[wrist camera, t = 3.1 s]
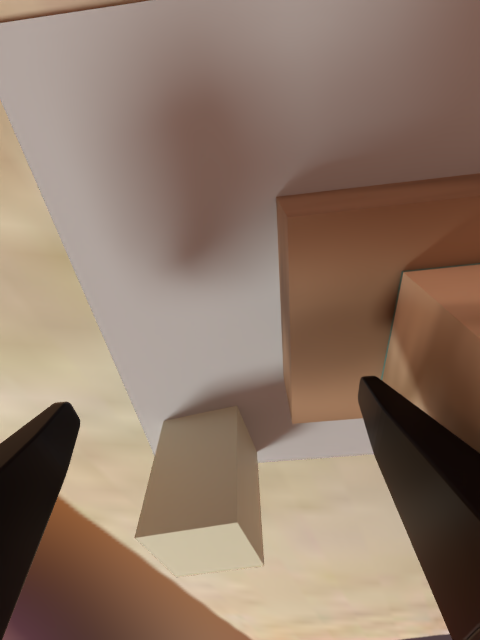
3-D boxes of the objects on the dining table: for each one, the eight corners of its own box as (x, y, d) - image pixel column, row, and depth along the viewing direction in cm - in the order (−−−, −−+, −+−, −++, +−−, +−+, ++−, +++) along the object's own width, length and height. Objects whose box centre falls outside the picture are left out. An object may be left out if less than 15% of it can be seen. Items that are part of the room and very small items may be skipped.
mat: (558, 434, 19) (564, 440, 19) (161, 464, 21) (160, 469, 20) (953, -115, 8) (986, -126, 7) (-21, 31, 9) (-31, 27, 9)
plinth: (454, 356, 16) (502, 407, 13) (282, 371, 16) (292, 423, 13) (521, 166, 11) (620, 179, 8) (274, 194, 12) (287, 217, 9)
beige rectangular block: (256, 452, 19) (264, 566, 14) (191, 463, 20) (176, 577, 15) (236, 405, 17) (237, 522, 12) (163, 420, 18) (134, 538, 13)
